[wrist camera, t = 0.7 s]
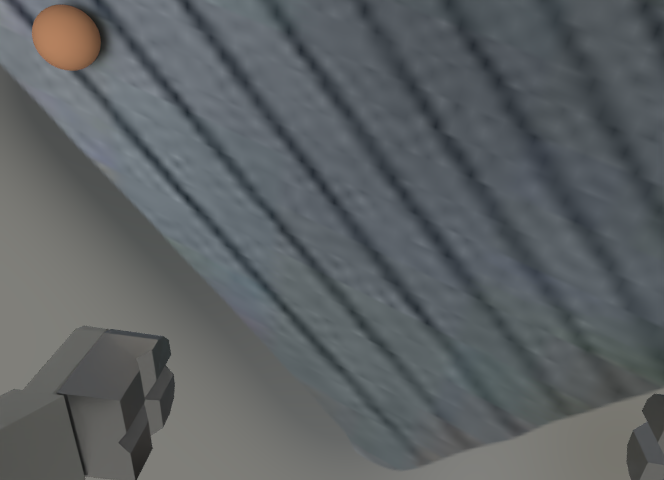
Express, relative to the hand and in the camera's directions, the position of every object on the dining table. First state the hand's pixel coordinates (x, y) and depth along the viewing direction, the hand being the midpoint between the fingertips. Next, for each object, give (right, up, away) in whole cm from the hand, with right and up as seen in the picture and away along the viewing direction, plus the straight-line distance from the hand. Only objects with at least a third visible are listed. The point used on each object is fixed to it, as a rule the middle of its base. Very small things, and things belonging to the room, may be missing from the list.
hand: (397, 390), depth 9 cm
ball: (-25, +21, +39) cm, 50 cm away
